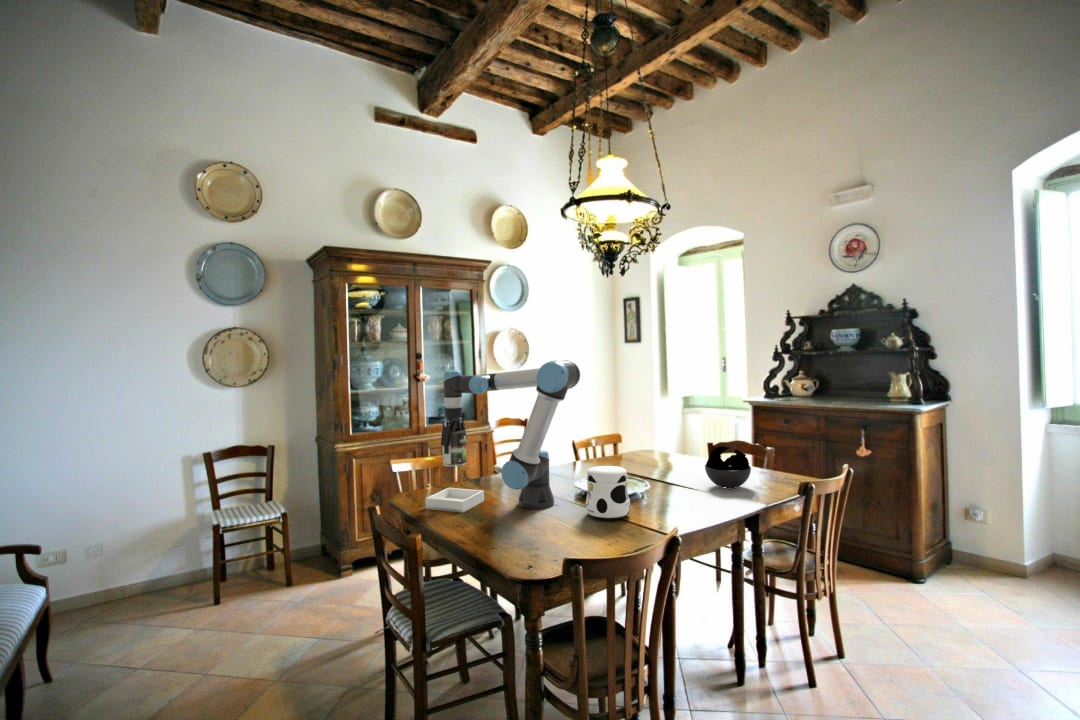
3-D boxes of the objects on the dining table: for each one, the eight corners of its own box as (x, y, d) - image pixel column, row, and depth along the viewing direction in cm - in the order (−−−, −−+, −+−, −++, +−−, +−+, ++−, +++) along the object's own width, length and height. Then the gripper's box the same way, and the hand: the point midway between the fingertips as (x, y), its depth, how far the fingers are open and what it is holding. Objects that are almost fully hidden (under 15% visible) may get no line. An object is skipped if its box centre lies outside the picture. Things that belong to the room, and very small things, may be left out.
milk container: (578, 513, 214) (577, 468, 214) (615, 507, 221) (614, 463, 221) (599, 525, 199) (598, 477, 198) (639, 518, 205) (638, 471, 205)
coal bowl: (702, 482, 258) (701, 443, 258) (745, 482, 255) (744, 443, 255) (709, 493, 238) (708, 451, 238) (756, 494, 235) (755, 451, 235)
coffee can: (470, 461, 234) (469, 429, 234) (462, 467, 224) (461, 433, 224) (447, 461, 236) (446, 429, 236) (438, 466, 226) (437, 433, 226)
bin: (484, 500, 236) (484, 490, 236) (463, 512, 219) (462, 501, 219) (449, 497, 243) (448, 487, 242) (425, 508, 226) (425, 498, 226)
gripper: (459, 404, 241) (460, 453, 242) (430, 409, 220) (432, 463, 221) (474, 404, 239) (475, 454, 239) (446, 410, 218) (448, 464, 218)
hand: (454, 458), depth 230 cm, fingers closed on coffee can, 10 cm apart
